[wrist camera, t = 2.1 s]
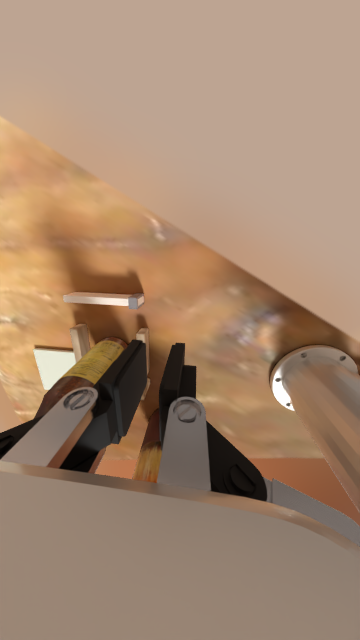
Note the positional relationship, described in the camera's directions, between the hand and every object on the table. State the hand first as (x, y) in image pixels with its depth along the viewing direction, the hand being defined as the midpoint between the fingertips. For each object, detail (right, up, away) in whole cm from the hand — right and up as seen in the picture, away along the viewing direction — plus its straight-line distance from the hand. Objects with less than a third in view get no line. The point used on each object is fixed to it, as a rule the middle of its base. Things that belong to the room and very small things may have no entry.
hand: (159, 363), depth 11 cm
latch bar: (-10, +6, +17) cm, 20 cm away
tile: (-21, -7, +23) cm, 32 cm away
